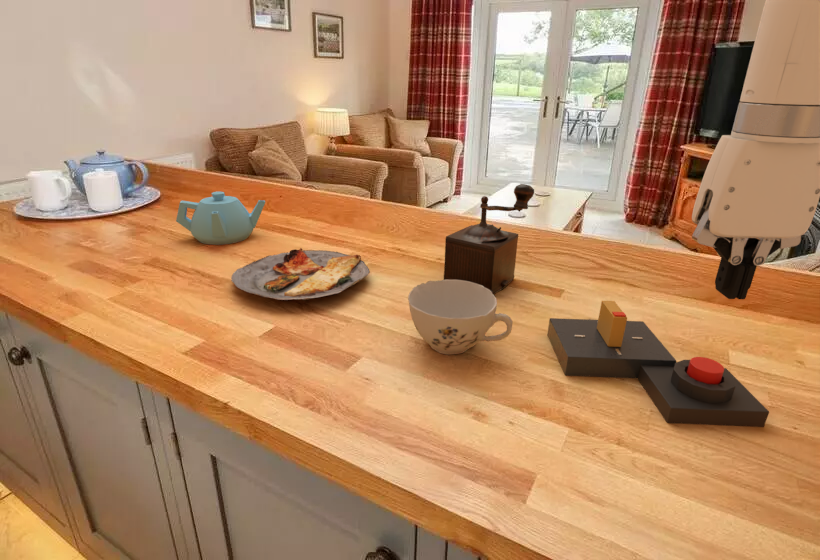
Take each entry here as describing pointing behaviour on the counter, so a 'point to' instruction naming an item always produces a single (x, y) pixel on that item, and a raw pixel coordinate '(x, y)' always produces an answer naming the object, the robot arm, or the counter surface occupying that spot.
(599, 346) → the panel
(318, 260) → the food plate
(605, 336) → the red-tipped wooden block
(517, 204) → the manual coffee grinder
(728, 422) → the button block
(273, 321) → the counter surface
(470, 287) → the teacup
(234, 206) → the teapot
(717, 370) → the button
